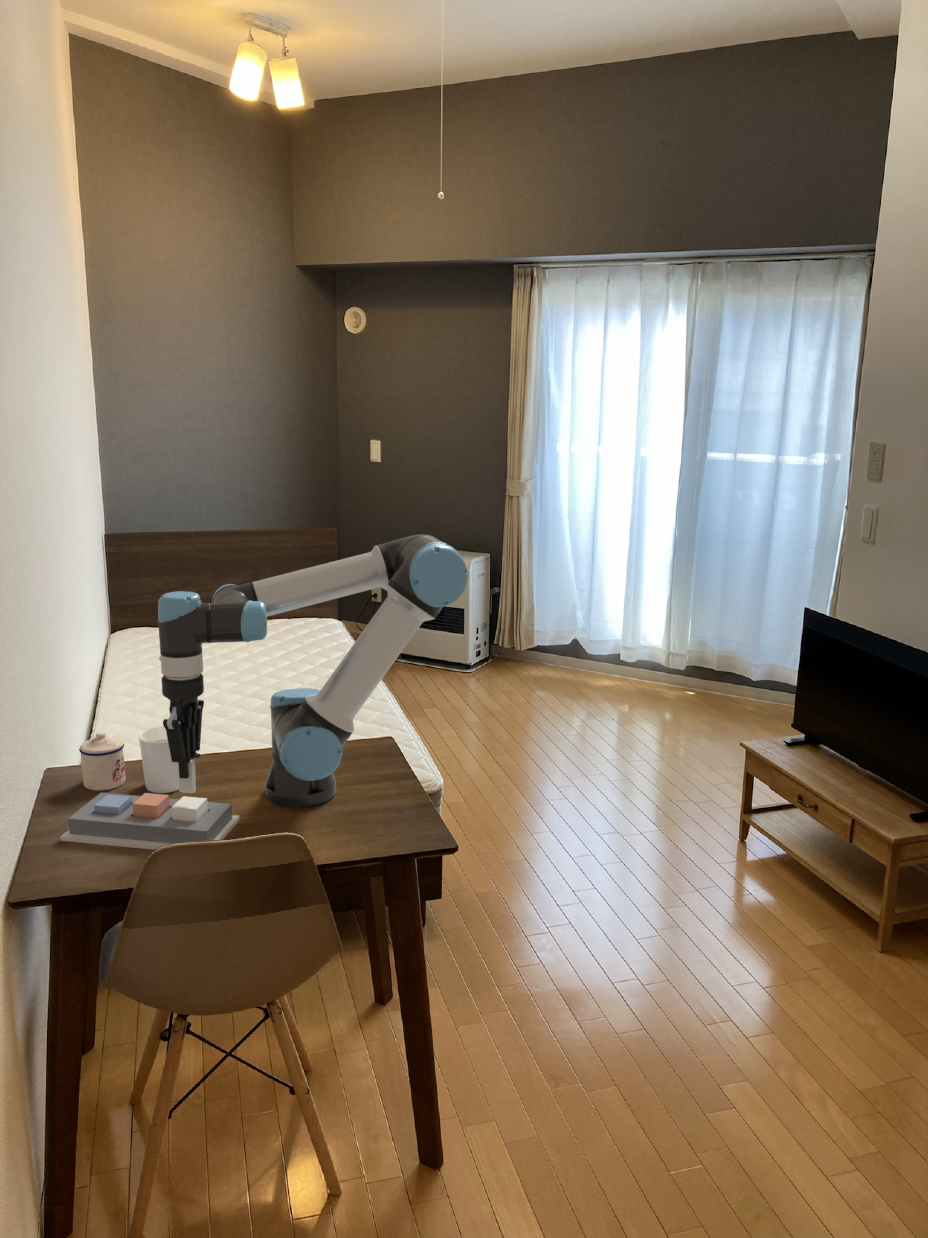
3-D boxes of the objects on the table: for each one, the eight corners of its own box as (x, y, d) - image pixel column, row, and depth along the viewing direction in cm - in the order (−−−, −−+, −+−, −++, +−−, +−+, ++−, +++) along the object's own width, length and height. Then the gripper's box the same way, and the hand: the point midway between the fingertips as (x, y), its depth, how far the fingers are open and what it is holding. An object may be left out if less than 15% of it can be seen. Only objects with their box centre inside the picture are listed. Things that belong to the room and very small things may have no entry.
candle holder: (196, 778, 207) (194, 727, 204) (176, 797, 197) (173, 744, 194) (155, 774, 208) (152, 724, 205) (133, 793, 199) (129, 740, 196)
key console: (240, 819, 188) (239, 801, 187) (209, 855, 173) (208, 835, 172) (101, 807, 192) (100, 789, 191) (60, 840, 178) (58, 821, 177)
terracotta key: (169, 809, 184) (168, 795, 183) (157, 820, 179) (156, 805, 178) (145, 806, 185) (144, 793, 184) (133, 818, 180) (132, 803, 179)
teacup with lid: (122, 790, 200) (118, 740, 197) (78, 793, 198) (73, 741, 195) (132, 768, 211) (128, 720, 208) (90, 770, 210) (86, 722, 207)
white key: (207, 812, 183) (207, 798, 182) (197, 823, 178) (196, 809, 177) (183, 810, 183) (183, 796, 183) (172, 821, 179) (171, 807, 178)
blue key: (132, 810, 185) (131, 796, 184) (119, 821, 180) (118, 807, 180) (108, 808, 186) (107, 794, 185) (95, 819, 181) (94, 805, 180)
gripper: (178, 663, 180) (184, 776, 186) (146, 683, 168) (153, 803, 174) (215, 666, 179) (219, 779, 185) (186, 686, 167) (191, 807, 173)
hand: (187, 791), depth 179 cm, fingers closed
